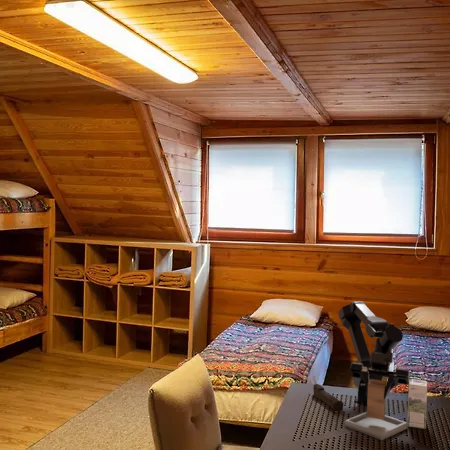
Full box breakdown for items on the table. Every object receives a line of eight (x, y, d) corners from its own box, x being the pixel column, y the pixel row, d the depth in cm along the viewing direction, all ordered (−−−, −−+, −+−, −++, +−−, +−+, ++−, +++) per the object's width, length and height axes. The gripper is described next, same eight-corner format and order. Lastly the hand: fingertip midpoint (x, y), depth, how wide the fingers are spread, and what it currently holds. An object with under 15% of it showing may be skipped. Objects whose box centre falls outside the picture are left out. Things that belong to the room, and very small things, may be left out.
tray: (370, 415, 196) (370, 410, 195) (407, 428, 185) (407, 422, 185) (345, 426, 186) (345, 420, 186) (382, 440, 176) (382, 434, 176)
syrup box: (425, 423, 190) (427, 380, 189) (425, 429, 184) (427, 385, 184) (407, 420, 192) (408, 378, 191) (407, 427, 186) (408, 383, 185)
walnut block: (369, 411, 189) (370, 378, 188) (385, 414, 187) (386, 381, 186) (366, 417, 184) (367, 383, 184) (382, 419, 182) (383, 385, 182)
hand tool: (343, 411, 199) (344, 398, 199) (333, 413, 198) (333, 399, 198) (320, 393, 218) (320, 381, 217) (311, 394, 217) (311, 382, 216)
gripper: (351, 338, 192) (343, 380, 182) (409, 345, 184) (404, 389, 175) (355, 355, 199) (348, 397, 190) (411, 362, 192) (406, 406, 182)
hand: (376, 397), depth 184 cm, fingers closed on walnut block, 5 cm apart
